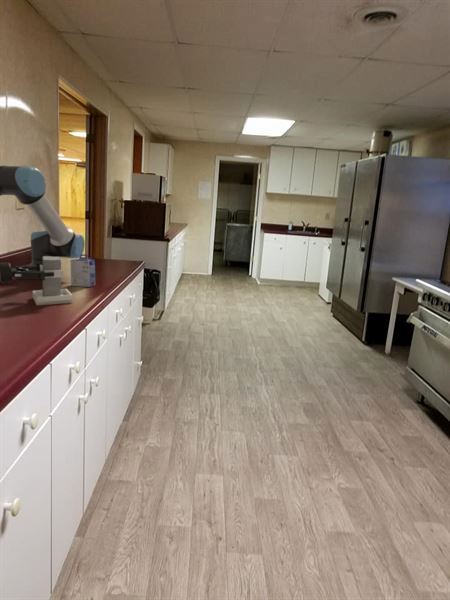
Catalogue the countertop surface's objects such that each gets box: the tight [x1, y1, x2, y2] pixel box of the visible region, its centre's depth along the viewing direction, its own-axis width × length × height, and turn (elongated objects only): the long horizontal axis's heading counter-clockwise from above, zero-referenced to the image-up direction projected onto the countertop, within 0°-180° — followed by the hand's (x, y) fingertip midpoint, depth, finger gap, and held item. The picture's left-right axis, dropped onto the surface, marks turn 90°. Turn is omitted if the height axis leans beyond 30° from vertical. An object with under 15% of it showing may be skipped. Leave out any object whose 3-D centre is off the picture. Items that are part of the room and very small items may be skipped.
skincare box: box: [41, 256, 62, 297], centre depth 166 cm, size 8×7×16 cm
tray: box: [32, 288, 74, 306], centre depth 168 cm, size 13×13×3 cm
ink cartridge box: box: [69, 253, 96, 288], centre depth 197 cm, size 10×6×14 cm, turn 78°
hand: (60, 270), depth 167 cm, fingers open, 13 cm apart
